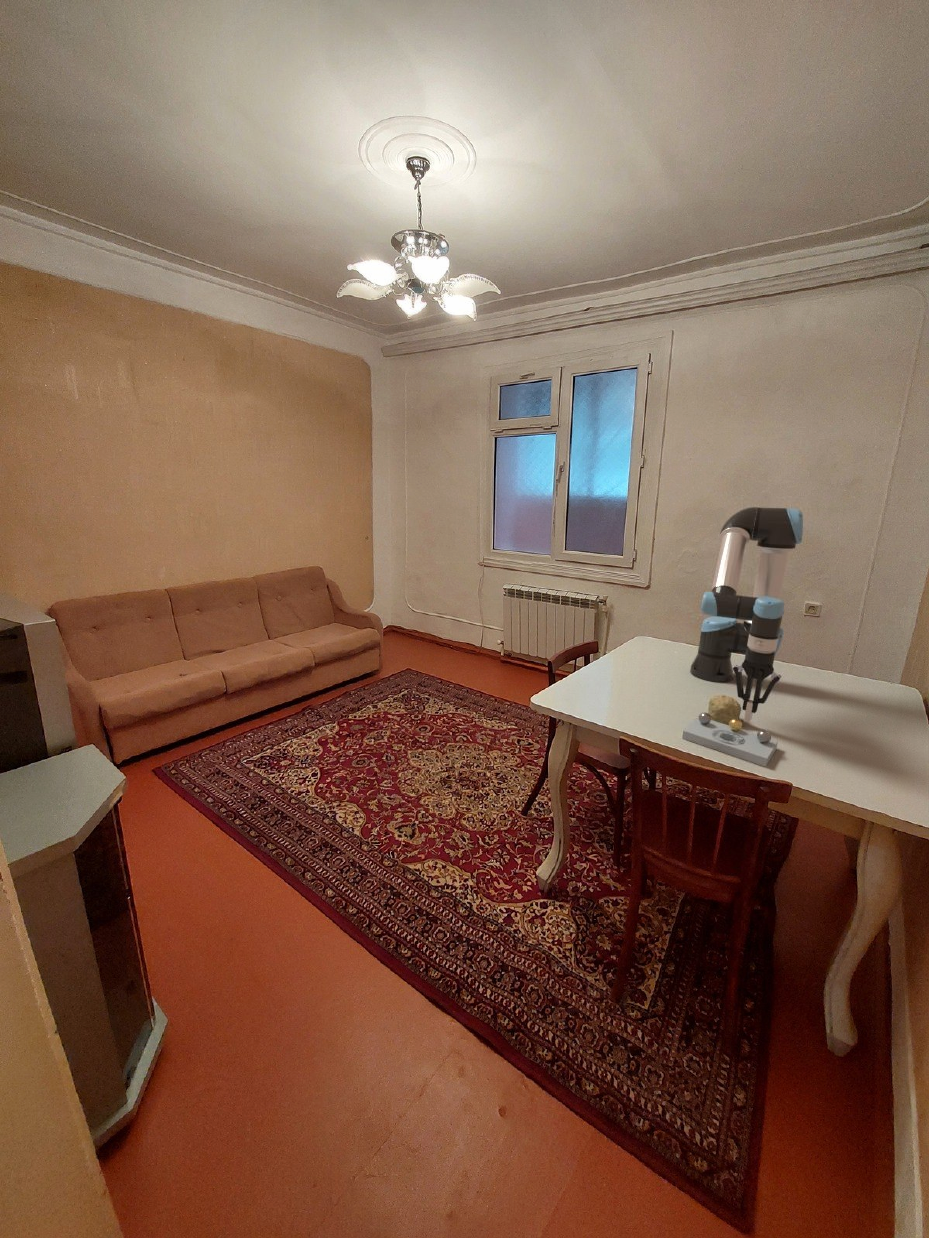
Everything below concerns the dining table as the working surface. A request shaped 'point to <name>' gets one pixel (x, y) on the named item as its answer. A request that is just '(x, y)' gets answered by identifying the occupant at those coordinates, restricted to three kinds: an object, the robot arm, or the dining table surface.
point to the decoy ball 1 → (704, 718)
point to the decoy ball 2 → (764, 736)
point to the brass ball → (735, 724)
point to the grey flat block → (730, 741)
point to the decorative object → (723, 709)
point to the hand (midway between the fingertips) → (747, 720)
